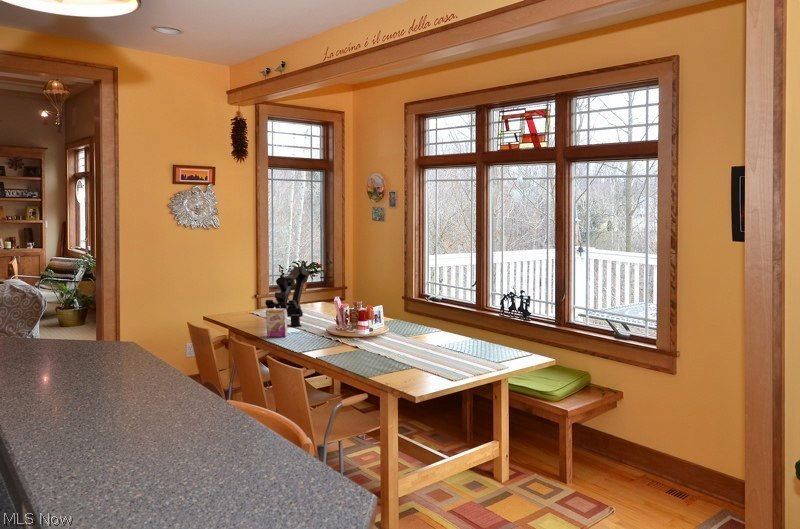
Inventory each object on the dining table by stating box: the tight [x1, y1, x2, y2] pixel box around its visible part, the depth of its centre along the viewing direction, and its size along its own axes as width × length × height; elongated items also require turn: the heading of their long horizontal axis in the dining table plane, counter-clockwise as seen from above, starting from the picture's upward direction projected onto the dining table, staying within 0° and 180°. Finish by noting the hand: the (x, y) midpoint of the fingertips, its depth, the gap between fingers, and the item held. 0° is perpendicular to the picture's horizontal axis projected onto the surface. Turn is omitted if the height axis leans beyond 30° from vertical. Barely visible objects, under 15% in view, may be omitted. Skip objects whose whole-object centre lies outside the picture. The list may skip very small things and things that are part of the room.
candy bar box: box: [265, 307, 288, 338], centre depth 377 cm, size 11×5×16 cm, turn 84°
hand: (278, 316), depth 379 cm, fingers closed
